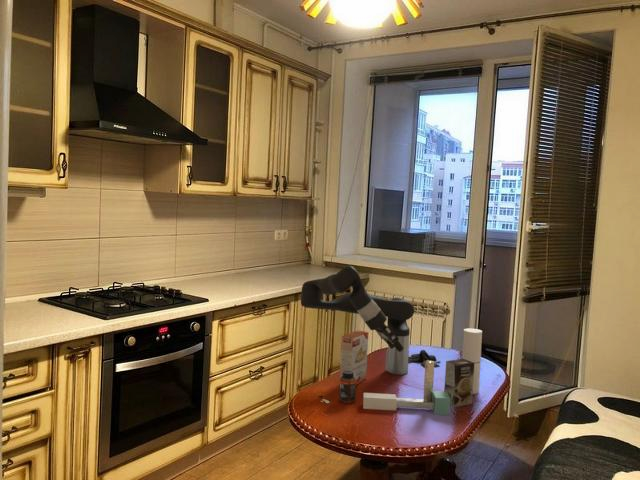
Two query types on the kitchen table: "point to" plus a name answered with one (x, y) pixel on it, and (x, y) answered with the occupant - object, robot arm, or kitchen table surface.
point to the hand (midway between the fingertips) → (397, 348)
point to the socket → (441, 402)
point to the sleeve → (379, 401)
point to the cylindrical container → (473, 353)
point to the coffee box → (459, 381)
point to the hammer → (428, 391)
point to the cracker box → (354, 354)
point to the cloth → (423, 358)
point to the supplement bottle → (347, 387)
